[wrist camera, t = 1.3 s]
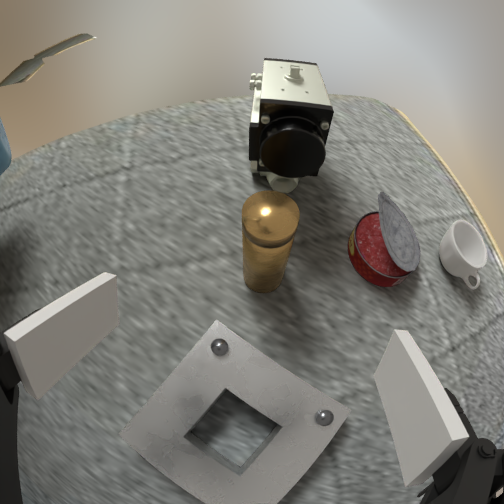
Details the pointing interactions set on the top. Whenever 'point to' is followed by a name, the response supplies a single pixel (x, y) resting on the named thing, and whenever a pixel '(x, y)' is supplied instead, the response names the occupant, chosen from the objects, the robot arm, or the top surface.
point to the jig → (253, 393)
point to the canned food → (384, 245)
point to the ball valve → (288, 122)
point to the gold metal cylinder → (267, 238)
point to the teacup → (463, 251)
